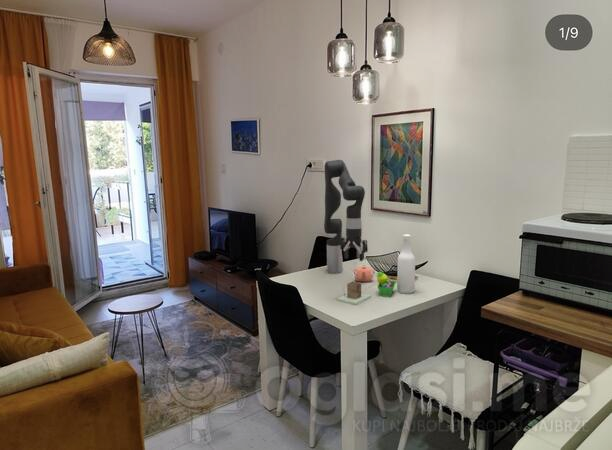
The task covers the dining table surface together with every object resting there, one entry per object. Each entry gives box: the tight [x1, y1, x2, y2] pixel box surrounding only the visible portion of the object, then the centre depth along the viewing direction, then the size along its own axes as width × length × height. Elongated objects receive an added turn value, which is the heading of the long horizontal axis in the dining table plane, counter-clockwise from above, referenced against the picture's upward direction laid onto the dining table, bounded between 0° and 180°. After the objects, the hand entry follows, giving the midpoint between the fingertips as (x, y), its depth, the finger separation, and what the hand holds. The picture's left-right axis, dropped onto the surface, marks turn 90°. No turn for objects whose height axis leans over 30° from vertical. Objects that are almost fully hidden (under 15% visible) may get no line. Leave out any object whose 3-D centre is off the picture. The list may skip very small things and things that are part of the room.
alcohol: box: [396, 233, 416, 295], centre depth 212 cm, size 9×9×30 cm
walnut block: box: [346, 281, 362, 299], centre depth 203 cm, size 5×5×7 cm
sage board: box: [336, 292, 372, 306], centre depth 204 cm, size 14×11×1 cm
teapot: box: [353, 264, 375, 283], centre depth 234 cm, size 12×15×8 cm
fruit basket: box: [376, 271, 396, 297], centre depth 211 cm, size 11×9×11 cm
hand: (353, 259), depth 201 cm, fingers open, 8 cm apart
